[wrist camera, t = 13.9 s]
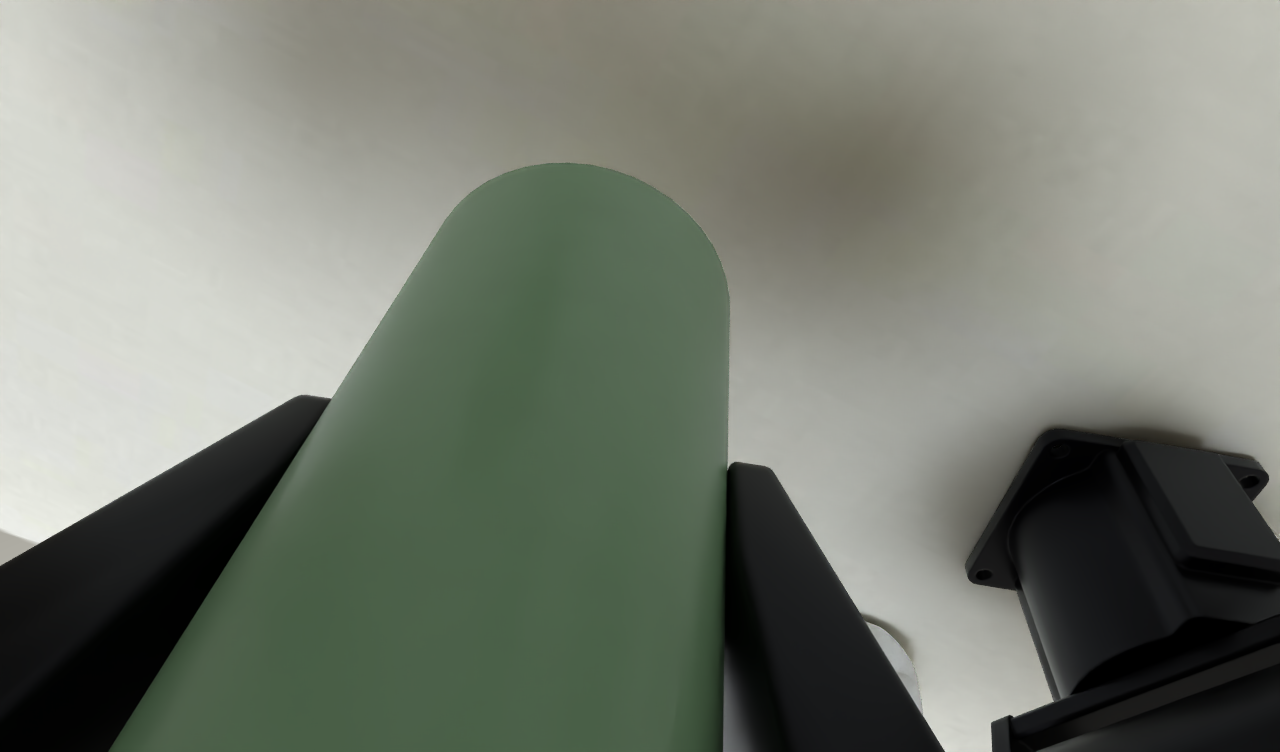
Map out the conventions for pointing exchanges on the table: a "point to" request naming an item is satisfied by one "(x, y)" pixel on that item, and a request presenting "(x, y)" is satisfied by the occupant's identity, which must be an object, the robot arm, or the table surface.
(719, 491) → the green peg
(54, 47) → the table surface
